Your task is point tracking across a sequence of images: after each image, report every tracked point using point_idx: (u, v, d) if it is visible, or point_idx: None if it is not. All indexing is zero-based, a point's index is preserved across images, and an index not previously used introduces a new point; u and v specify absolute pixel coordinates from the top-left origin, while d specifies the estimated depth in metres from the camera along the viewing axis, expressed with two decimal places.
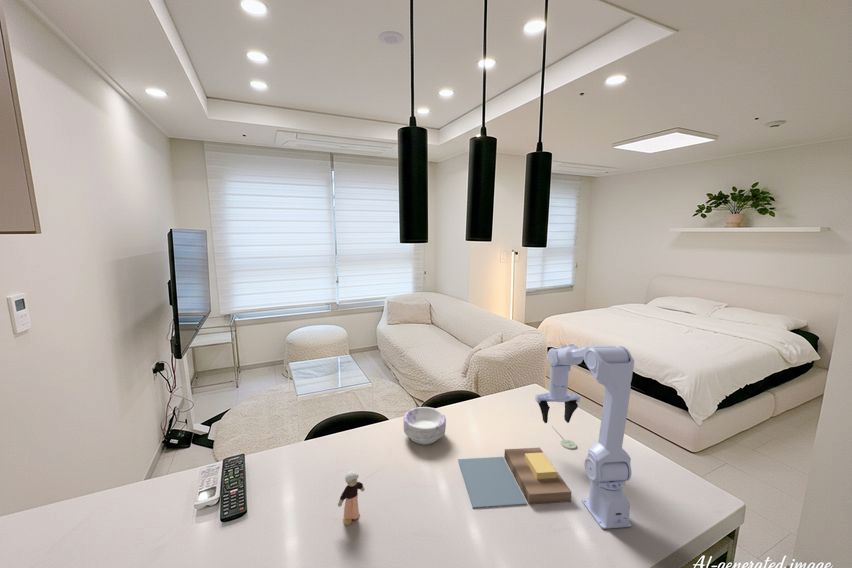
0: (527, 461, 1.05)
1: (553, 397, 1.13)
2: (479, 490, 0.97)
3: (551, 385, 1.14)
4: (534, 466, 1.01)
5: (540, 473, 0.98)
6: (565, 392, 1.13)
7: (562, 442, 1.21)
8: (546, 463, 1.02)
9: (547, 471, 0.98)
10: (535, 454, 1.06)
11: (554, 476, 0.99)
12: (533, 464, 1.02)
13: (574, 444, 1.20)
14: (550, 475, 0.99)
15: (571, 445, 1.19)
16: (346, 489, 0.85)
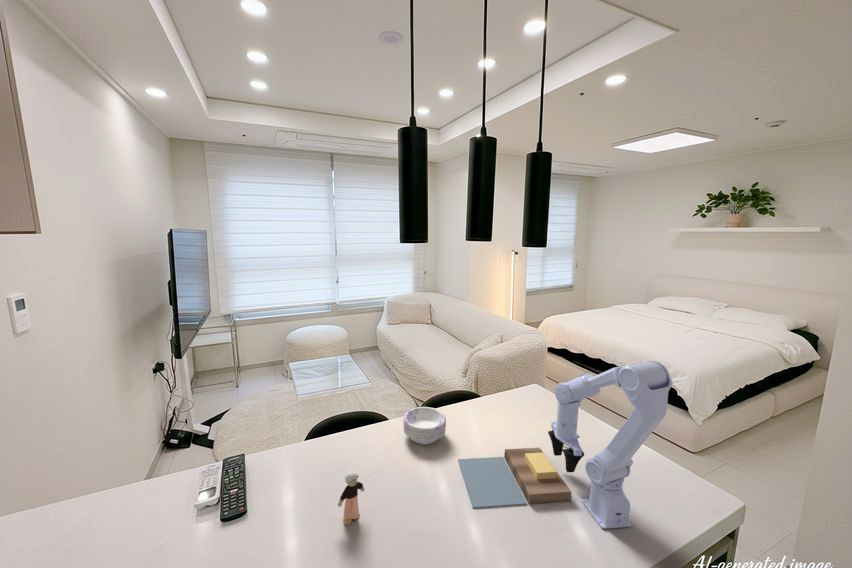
0: (527, 461, 1.05)
1: None
2: (479, 490, 0.97)
3: None
4: (534, 466, 1.01)
5: (540, 473, 0.98)
6: (560, 430, 1.00)
7: None
8: (546, 463, 1.02)
9: (547, 471, 0.98)
10: (535, 454, 1.06)
11: (554, 476, 0.99)
12: (533, 464, 1.02)
13: None
14: (550, 475, 0.99)
15: None
16: (346, 489, 0.85)
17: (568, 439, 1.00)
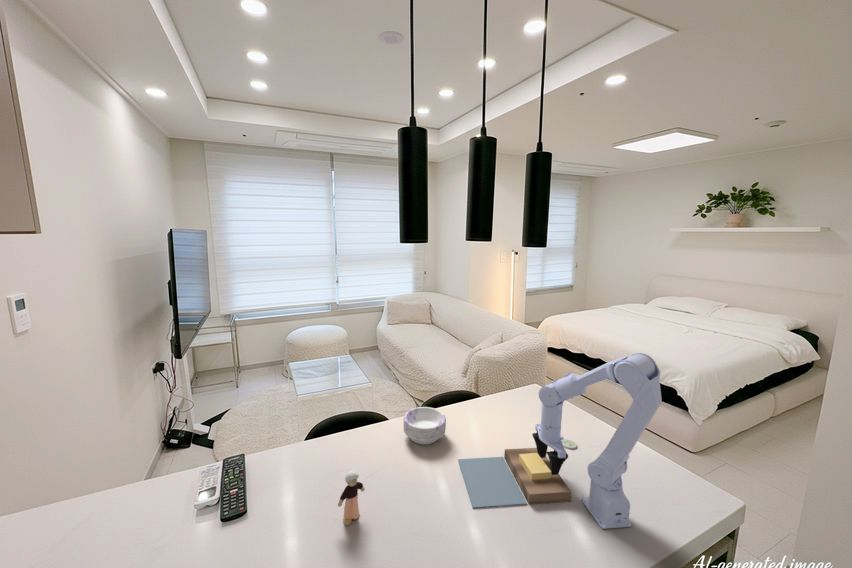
0: (521, 462, 1.04)
1: None
2: (479, 490, 0.97)
3: None
4: (529, 467, 1.00)
5: (535, 473, 0.98)
6: (545, 432, 1.00)
7: (562, 442, 1.21)
8: (540, 463, 1.02)
9: (542, 472, 0.98)
10: (529, 455, 1.06)
11: (549, 476, 0.99)
12: (528, 465, 1.01)
13: (574, 444, 1.20)
14: (545, 475, 0.98)
15: (571, 445, 1.19)
16: (346, 489, 0.85)
17: (552, 441, 0.99)
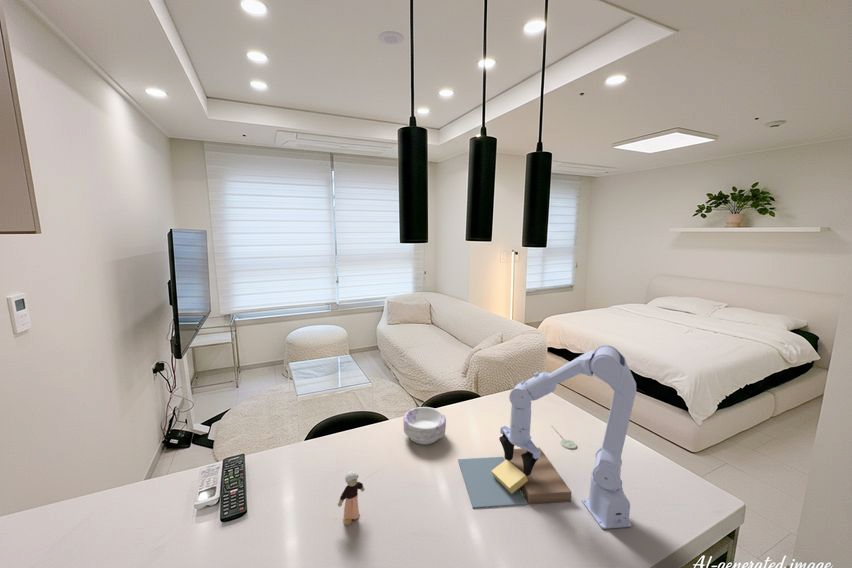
0: (496, 478, 1.01)
1: (509, 435, 1.02)
2: (479, 490, 0.97)
3: None
4: (504, 481, 0.97)
5: (512, 485, 0.95)
6: (517, 435, 0.98)
7: (562, 442, 1.21)
8: (513, 470, 0.99)
9: (517, 480, 0.96)
10: (500, 466, 1.03)
11: (525, 480, 0.96)
12: (503, 479, 0.98)
13: (574, 444, 1.20)
14: (521, 482, 0.96)
15: (571, 445, 1.19)
16: (346, 489, 0.85)
17: (524, 443, 0.98)
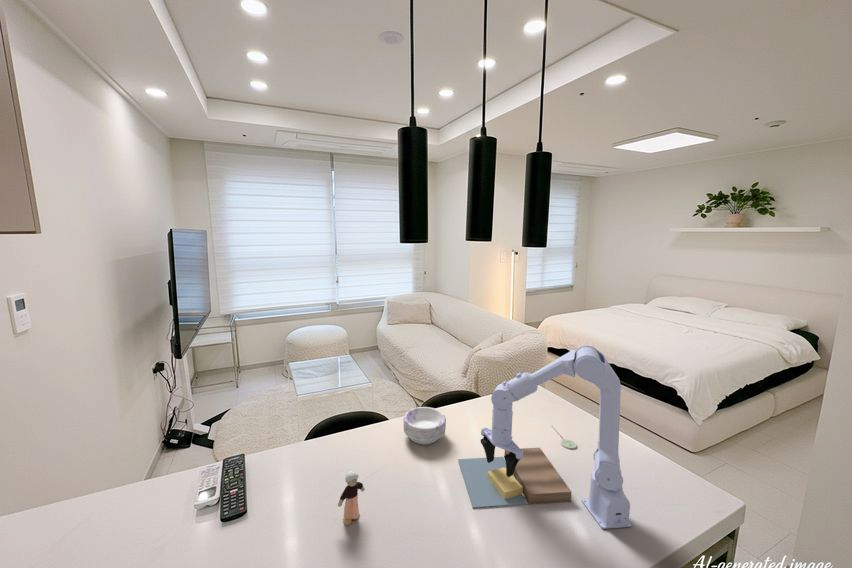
0: (491, 480, 1.00)
1: (491, 436, 1.01)
2: (479, 490, 0.97)
3: None
4: (500, 485, 0.96)
5: (507, 491, 0.94)
6: (499, 437, 0.97)
7: (562, 442, 1.21)
8: (511, 479, 0.99)
9: (514, 489, 0.95)
10: (498, 471, 1.02)
11: (520, 492, 0.96)
12: (499, 483, 0.97)
13: (574, 444, 1.20)
14: (517, 492, 0.95)
15: (571, 445, 1.19)
16: (346, 489, 0.85)
17: (506, 444, 0.98)
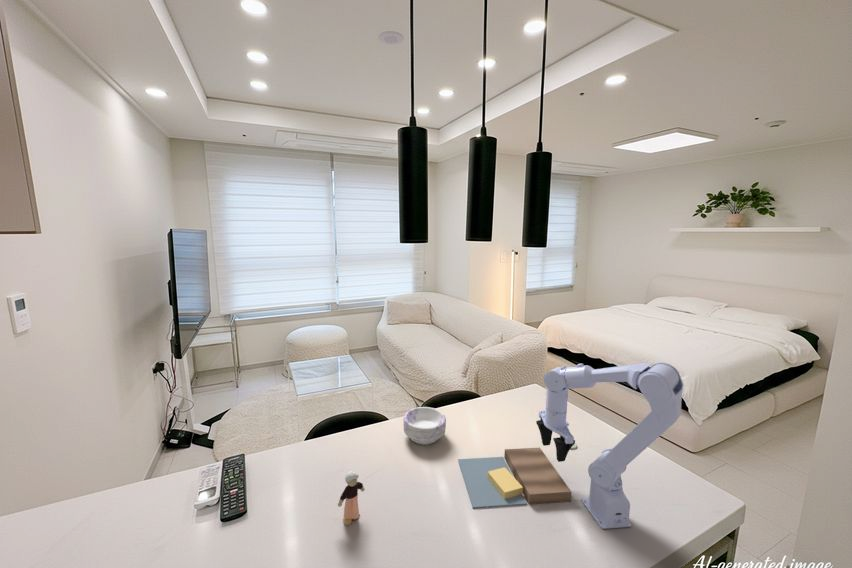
0: (491, 480, 1.00)
1: None
2: (479, 490, 0.97)
3: None
4: (500, 485, 0.96)
5: (507, 491, 0.94)
6: (550, 418, 0.97)
7: None
8: (511, 479, 0.99)
9: (514, 489, 0.95)
10: (498, 471, 1.02)
11: (520, 492, 0.96)
12: (499, 483, 0.97)
13: (574, 444, 1.20)
14: (517, 492, 0.95)
15: None
16: (346, 489, 0.85)
17: (558, 427, 0.96)
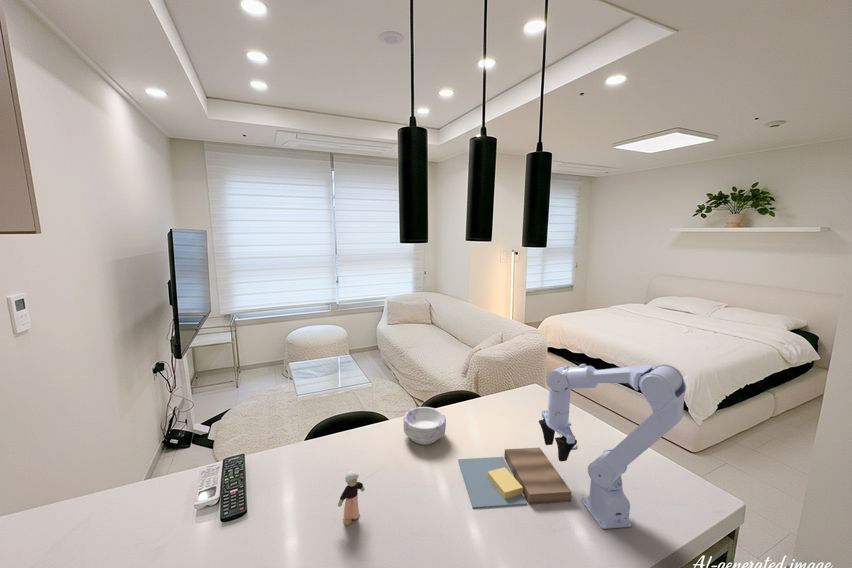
0: (491, 480, 1.00)
1: None
2: (479, 490, 0.97)
3: None
4: (500, 485, 0.96)
5: (507, 491, 0.94)
6: (552, 418, 0.97)
7: None
8: (511, 479, 0.99)
9: (514, 489, 0.95)
10: (498, 471, 1.02)
11: (520, 492, 0.96)
12: (499, 483, 0.97)
13: None
14: (517, 492, 0.95)
15: None
16: (346, 489, 0.85)
17: (560, 427, 0.96)
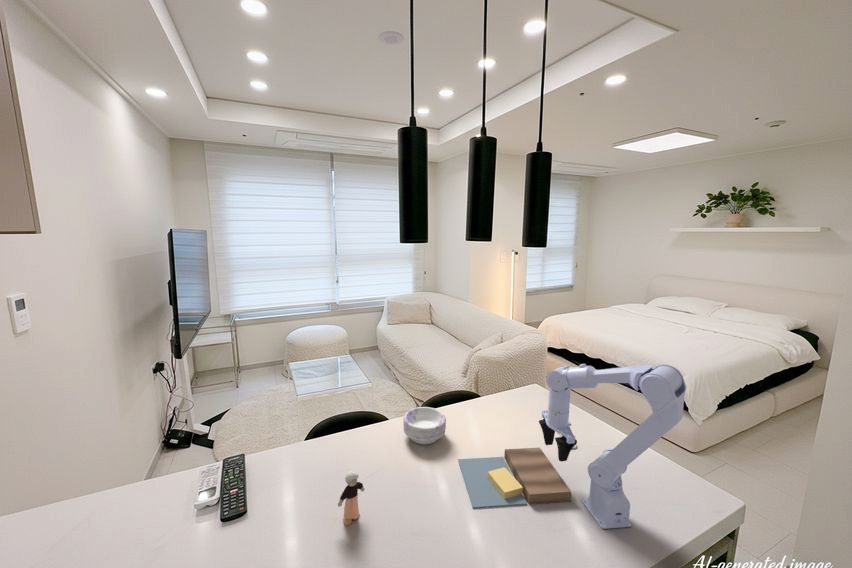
0: (491, 480, 1.00)
1: None
2: (479, 490, 0.97)
3: None
4: (500, 485, 0.96)
5: (507, 491, 0.94)
6: (552, 418, 0.97)
7: None
8: (511, 479, 0.99)
9: (514, 489, 0.95)
10: (498, 471, 1.02)
11: (520, 492, 0.96)
12: (499, 483, 0.97)
13: None
14: (517, 492, 0.95)
15: None
16: (346, 489, 0.85)
17: (560, 427, 0.96)
